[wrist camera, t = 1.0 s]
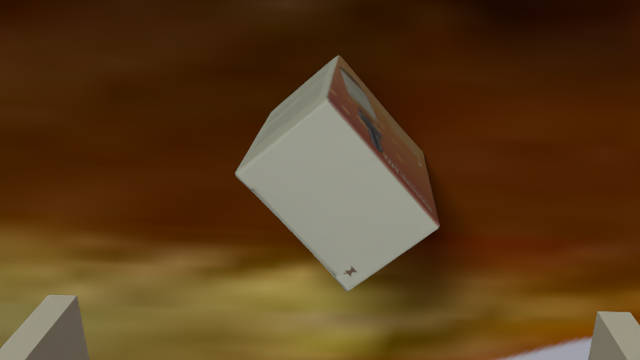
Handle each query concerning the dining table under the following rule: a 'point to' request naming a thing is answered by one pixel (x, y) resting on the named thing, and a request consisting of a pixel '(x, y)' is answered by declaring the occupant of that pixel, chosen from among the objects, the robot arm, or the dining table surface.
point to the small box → (342, 175)
